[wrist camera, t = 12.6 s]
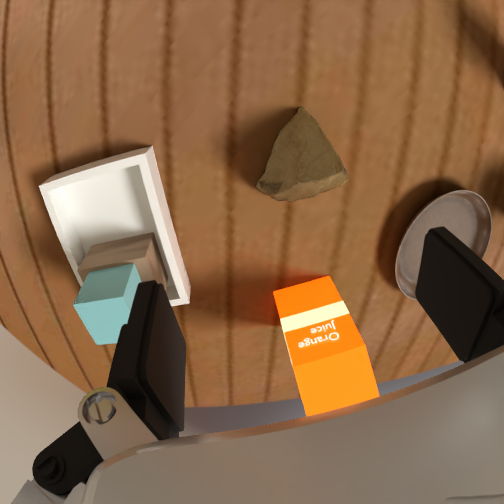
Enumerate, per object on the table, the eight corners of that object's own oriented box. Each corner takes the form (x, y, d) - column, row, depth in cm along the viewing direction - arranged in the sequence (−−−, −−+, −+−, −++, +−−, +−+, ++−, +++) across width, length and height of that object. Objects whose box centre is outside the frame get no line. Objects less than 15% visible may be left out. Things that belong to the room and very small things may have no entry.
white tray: (52, 175, 34) (38, 186, 30) (152, 145, 34) (145, 153, 30) (103, 299, 44) (96, 317, 41) (190, 285, 44) (189, 303, 41)
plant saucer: (420, 308, 54) (428, 319, 51) (363, 252, 45) (372, 264, 42) (492, 232, 47) (503, 241, 44) (452, 155, 38) (466, 162, 36)
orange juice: (333, 311, 50) (378, 413, 33) (281, 326, 51) (310, 435, 33) (329, 274, 46) (383, 381, 29) (271, 290, 46) (303, 407, 29)
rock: (274, 226, 39) (350, 192, 36) (254, 220, 30) (351, 176, 28) (242, 149, 40) (312, 116, 37) (216, 127, 31) (301, 84, 29)
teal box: (89, 271, 34) (72, 304, 28) (134, 263, 34) (122, 296, 29) (108, 310, 37) (96, 344, 32) (151, 304, 37) (144, 339, 32)
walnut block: (91, 245, 38) (77, 270, 33) (153, 232, 39) (145, 257, 34) (110, 287, 42) (99, 315, 37) (168, 277, 42) (163, 305, 37)
